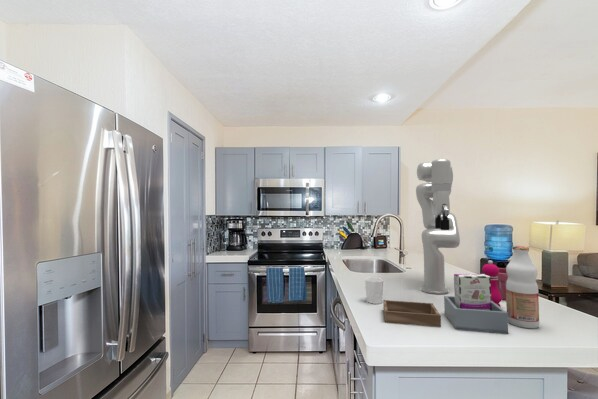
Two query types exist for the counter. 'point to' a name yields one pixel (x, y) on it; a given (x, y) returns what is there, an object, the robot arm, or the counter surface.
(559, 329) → the counter surface
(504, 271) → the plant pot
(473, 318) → the slate bin
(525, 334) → the counter surface
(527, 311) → the fruit juice
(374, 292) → the white cup
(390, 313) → the wooden rectangular frame
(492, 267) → the pepper mill
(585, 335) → the counter surface
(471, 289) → the snack bar box
